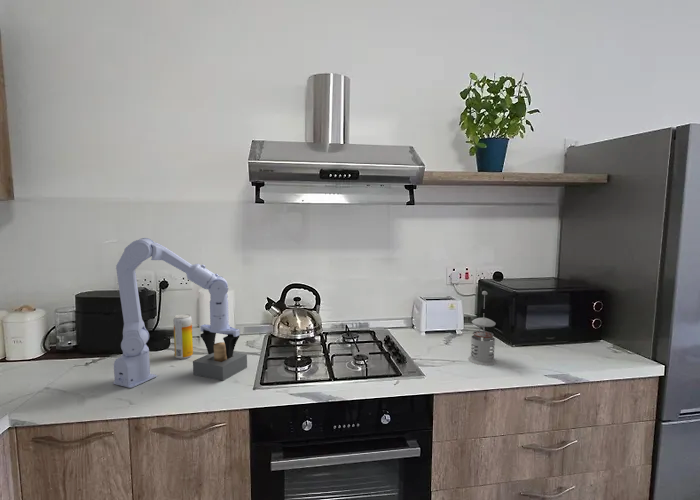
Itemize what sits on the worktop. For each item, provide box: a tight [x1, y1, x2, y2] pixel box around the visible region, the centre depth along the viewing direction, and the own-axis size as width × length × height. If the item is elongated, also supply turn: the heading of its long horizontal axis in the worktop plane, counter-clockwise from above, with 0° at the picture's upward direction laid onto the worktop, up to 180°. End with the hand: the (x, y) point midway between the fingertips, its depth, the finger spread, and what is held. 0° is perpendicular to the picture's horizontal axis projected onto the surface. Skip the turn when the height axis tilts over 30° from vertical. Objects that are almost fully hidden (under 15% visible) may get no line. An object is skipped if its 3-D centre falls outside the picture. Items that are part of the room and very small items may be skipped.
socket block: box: [192, 351, 248, 382], centre depth 135 cm, size 12×12×4 cm
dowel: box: [214, 341, 227, 362], centre depth 134 cm, size 4×4×8 cm
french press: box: [467, 290, 497, 366], centre depth 145 cm, size 10×12×25 cm
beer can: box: [172, 313, 194, 360], centre depth 147 cm, size 6×6×15 cm
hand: (220, 354), depth 134 cm, fingers open, 7 cm apart
